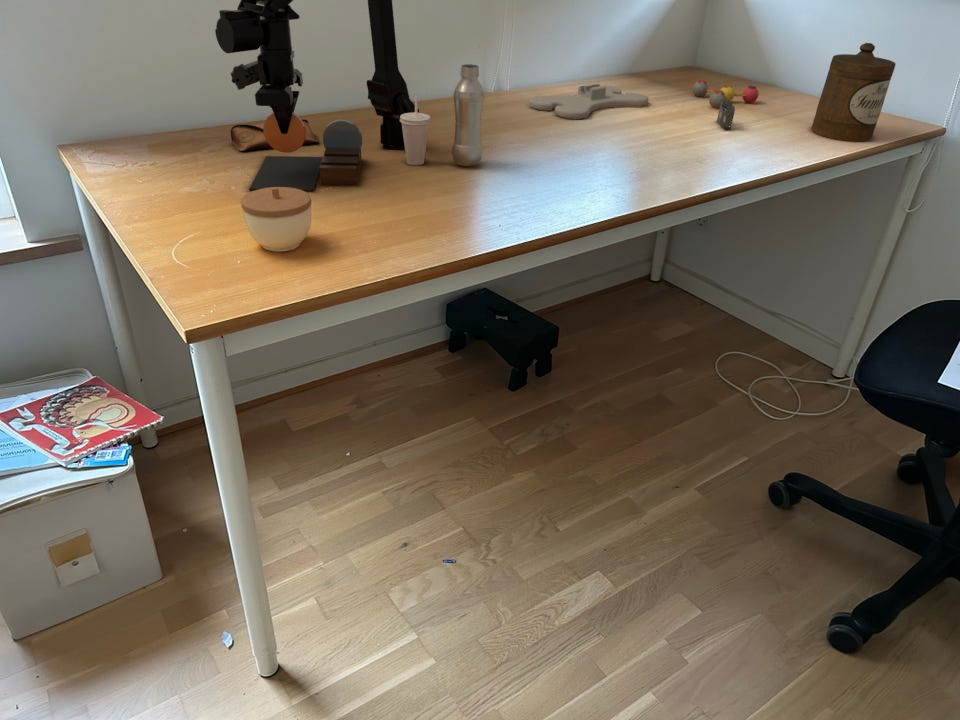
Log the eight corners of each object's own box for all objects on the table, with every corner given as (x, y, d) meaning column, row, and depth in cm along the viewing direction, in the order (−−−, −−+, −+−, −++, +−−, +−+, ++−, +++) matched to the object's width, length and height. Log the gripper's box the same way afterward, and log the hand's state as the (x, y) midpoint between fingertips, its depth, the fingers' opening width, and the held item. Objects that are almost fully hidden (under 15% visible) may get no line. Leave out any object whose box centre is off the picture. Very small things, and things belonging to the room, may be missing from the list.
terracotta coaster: (266, 150, 145) (261, 109, 141) (307, 151, 146) (304, 110, 142) (265, 152, 144) (260, 111, 140) (307, 153, 145) (303, 111, 141)
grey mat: (323, 158, 156) (323, 156, 156) (313, 191, 140) (313, 189, 140) (266, 157, 155) (266, 156, 155) (249, 190, 139) (248, 188, 138)
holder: (654, 104, 209) (657, 86, 206) (571, 121, 190) (574, 101, 187) (604, 90, 221) (606, 73, 218) (521, 105, 202) (523, 86, 199)
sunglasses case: (240, 150, 157) (233, 119, 156) (235, 159, 163) (228, 129, 162) (321, 141, 165) (314, 112, 164) (313, 150, 171) (307, 121, 170)
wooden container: (855, 145, 182) (885, 50, 170) (800, 131, 191) (825, 40, 180) (881, 135, 191) (912, 45, 179) (827, 122, 200) (853, 35, 188)
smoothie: (407, 168, 153) (406, 99, 146) (395, 159, 158) (394, 92, 150) (435, 165, 156) (435, 97, 148) (423, 156, 161) (423, 90, 153)
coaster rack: (328, 159, 156) (327, 143, 154) (361, 160, 157) (360, 143, 155) (320, 185, 143) (319, 167, 141) (357, 185, 143) (356, 168, 142)
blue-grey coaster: (324, 157, 154) (321, 119, 150) (363, 158, 155) (361, 119, 150) (324, 159, 153) (321, 120, 149) (362, 160, 154) (361, 121, 149)
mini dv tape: (730, 130, 189) (735, 106, 186) (724, 130, 189) (729, 106, 186) (722, 122, 196) (727, 98, 193) (716, 121, 196) (721, 98, 193)
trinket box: (233, 250, 116) (224, 193, 111) (272, 226, 125) (265, 172, 120) (291, 263, 113) (284, 205, 108) (327, 237, 122) (323, 183, 117)
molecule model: (689, 94, 222) (692, 78, 219) (743, 95, 224) (746, 79, 221) (711, 109, 207) (714, 92, 204) (769, 110, 209) (773, 93, 206)
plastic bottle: (486, 162, 159) (490, 64, 148) (475, 171, 154) (479, 71, 143) (458, 158, 161) (460, 61, 150) (447, 167, 155) (448, 67, 144)
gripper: (240, 37, 142) (251, 119, 150) (219, 56, 126) (233, 146, 135) (299, 38, 143) (306, 120, 151) (285, 57, 127) (294, 147, 136)
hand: (284, 132), depth 143 cm, fingers closed on terracotta coaster, 1 cm apart
